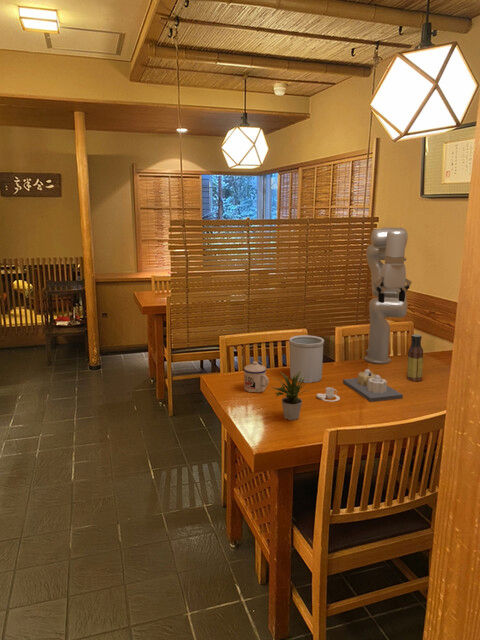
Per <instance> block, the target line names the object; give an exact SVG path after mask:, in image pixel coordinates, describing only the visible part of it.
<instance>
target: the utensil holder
mask: <svg viewBox="0 0 480 640" xmlns="http://www.w3.org/2000/svg"><path fill="white" fill-rule="evenodd" d="M288 342H289V368H290V369H289V373H290V375H289V376H290V377H289V378H290V379H291V380H292V379H293V377H294V375H295V377H296V376H297V374H298V372H300V371H301V372H300V376H299V378H298V382H297V383H299V380H300V378H301V377H302V379H301V382H302V380H303V379H304V381H303V382H304V384H305V383H306V384H310V383H311V384H312V382H313V383H317V382H320V381H321V379H322V377H323V376H322V375H323V360H324V359H323V357H324V344H325V339H324V338H323V337H320V336H315V335H309V334H306V335H304V334H303V335H295V336H291V337H290V338H289V341H288ZM302 375H303V376H302ZM301 382H300V383H301Z"/></svg>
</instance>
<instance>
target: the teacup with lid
mask: <svg viewBox="0 0 480 640" xmlns="http://www.w3.org/2000/svg"><path fill="white" fill-rule="evenodd" d="M266 372H267V369H266V367H265V366H264V365H262V364H259V363H258V361H252V363H250V364H248V365H245V366H244V367H243V373H244V375H243V376H244V377H243V378H244V380H243V382H244V383H243V384H244V385H243V388H244V391H246V392H249V393H252V392H258V393H261V392H264V391H265V390H266V387H268V385H269V382H270V381H269V378H268V376H267V375H266Z"/></svg>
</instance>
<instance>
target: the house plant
mask: <svg viewBox="0 0 480 640" xmlns="http://www.w3.org/2000/svg"><path fill="white" fill-rule="evenodd" d="M300 372H301V371H300ZM300 372H298V374H297V376H296V377H295V375H294V377H293V379H291V381H290V378H289V377H288V376H287V375H285V374H284V373H283V372H282V371H279V373H280V374H281V375H282V377H283V378H284V380H285V381H284V382H285V383H286V384H285V383H284V382H283V381H282V380H281V379H280V378H279V379H278V378H275V377H274V378H273V380H275V381H276V382H279V383H280V384H279V385H281V387H272V389H273V390H275V391H277V392H275V395H276V396H275V398H277V397H279V396H283V398H281V405H282V412H283V413H282V414H283V418H284V419H285V420H287V419H288V421H296V419H297V420H299V418H300V412H301V409H302V404H303V399H301V398H300V397H299V396H300V395H301V394H303V393H305V392H307V390H304V391H301V389H302V388H303V387H304V386H305V385H306V384H307V383H304V384H303V381H304V379H303V380H302V382H301V379H302V377H301V378H300V380H299V382H297V381H298V378H299V376H300ZM302 376H303V375H302ZM300 391H301V393H300ZM308 392H310V393H311V391H310V390H308Z"/></svg>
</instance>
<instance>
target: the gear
mask: <svg viewBox="0 0 480 640" xmlns="http://www.w3.org/2000/svg"><path fill="white" fill-rule="evenodd" d="M387 386H388V381H387V380H386V379H384V378H381V381H380V382H374V377H372V378H371V379H368V385H367V389H368V391H372V392H373V393H383V392H386V390H387Z"/></svg>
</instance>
